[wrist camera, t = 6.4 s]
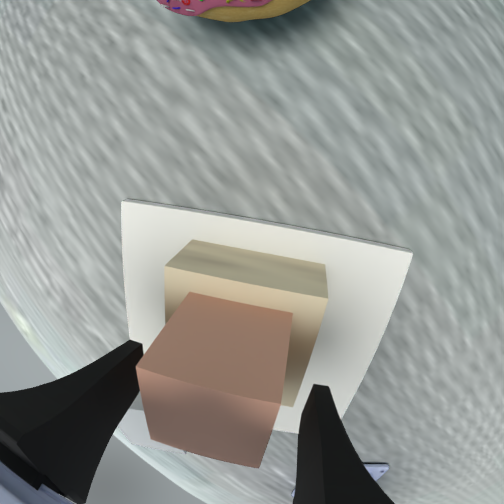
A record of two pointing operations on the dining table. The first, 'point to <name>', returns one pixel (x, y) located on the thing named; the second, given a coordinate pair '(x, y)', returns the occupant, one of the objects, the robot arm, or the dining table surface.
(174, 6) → the cupcake
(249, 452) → the terracotta block
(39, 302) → the dining table surface
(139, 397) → the grey block
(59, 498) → the robot arm
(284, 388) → the maple block
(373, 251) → the board
